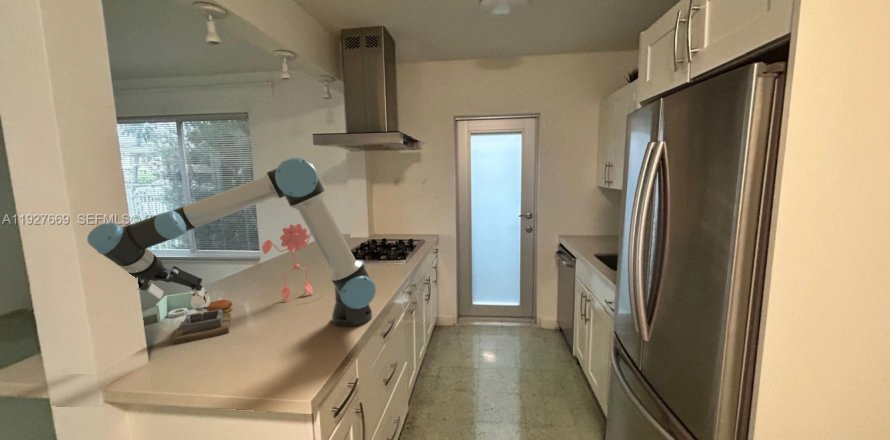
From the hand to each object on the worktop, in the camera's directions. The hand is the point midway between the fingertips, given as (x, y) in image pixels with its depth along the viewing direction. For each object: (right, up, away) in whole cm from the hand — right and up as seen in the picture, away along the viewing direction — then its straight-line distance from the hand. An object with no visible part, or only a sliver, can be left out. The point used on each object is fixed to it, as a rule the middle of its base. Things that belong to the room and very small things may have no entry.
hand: (182, 294), depth 119 cm
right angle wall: (-21, -15, +27) cm, 38 cm away
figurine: (+23, -11, +41) cm, 48 cm away
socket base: (0, -15, +11) cm, 19 cm away
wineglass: (0, -14, +11) cm, 18 cm away
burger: (-5, -14, +28) cm, 32 cm away
